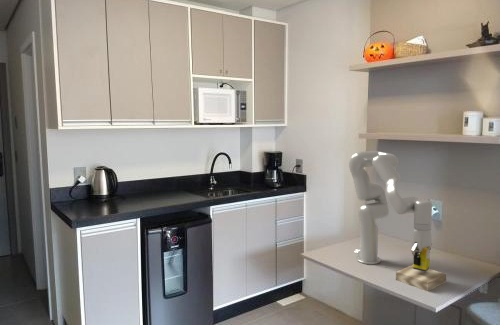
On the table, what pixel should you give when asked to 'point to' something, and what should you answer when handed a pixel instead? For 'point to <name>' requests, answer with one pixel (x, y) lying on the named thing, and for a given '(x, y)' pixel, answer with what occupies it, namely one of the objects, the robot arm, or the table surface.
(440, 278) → the birch riser
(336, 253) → the table surface
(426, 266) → the supplement box
